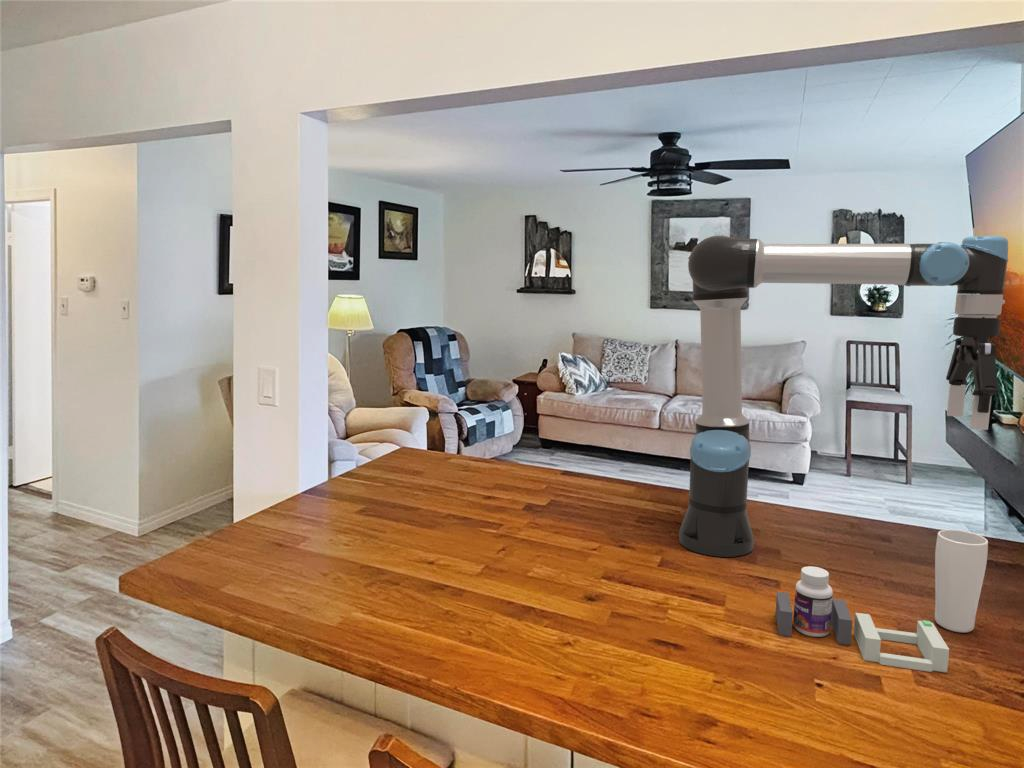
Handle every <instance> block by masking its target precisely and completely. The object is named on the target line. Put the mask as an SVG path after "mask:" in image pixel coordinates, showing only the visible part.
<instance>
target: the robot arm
mask: <svg viewBox="0 0 1024 768" xmlns="http://www.w3.org/2000/svg"><path fill="white" fill-rule="evenodd" d="M1008 257H1009V241H1008V239H1007V237H1004V236H1003V235H980V236H978V235H977V236H975V235H974V236H967V237H964V238H963V239H962V242H961V244H960V245H959V244H957V243H954V242H949V241H948V242H947V241H940V242H937V243H764V242H763V241H762V240H761V239H760V238H741V237H732V236H725V235H713V236H709V237H705V238H704V239H702V240H700V242H698V243H697V244H696V245H695V246H694V248H692V251H691V253H690V255H689V258H688V262H687V263H688V264H687V265H688V266H687V268H688V273H689V276H690V278H691V279H692V302H693V304H695V305H696V306H697V307H698V308H699V311H700V315H699V317H700V353H701V355H700V358H701V360H700V361H701V366H700V367H701V400H702V402H701V405H702V406H701V409H702V411H701V415H700V416H699V417H698V418H697V419H696V420H695V435H694V436H693V438H692V440H691V443H690V447H689V448H690V449H689V454H690V465H689V466H690V468H689V492H688V493H689V494H688V496H689V497H688V506H687V510H686V512H685V515H684V517H683V520H682V522H681V525H680V527H679V534H678V537H679V538H678V541H679V543H680V545H681V546H683V547H684V548H686V549H688V550H690V551H691V552H695V553H698V554H701V555H706V556H710V557H711V556H712V557H720V558H729V557H730V558H732V557H741V556H745V555H748V554H749V553H751V552H753V550H754V543H755V542H754V540H755V539H754V538H755V537H754V534H753V530H752V527H751V523H750V520H749V517H748V514H747V503H748V502H747V500H748V485H749V467H750V459H751V454H752V453H751V452H752V449H751V444H750V420H749V418H747V417H746V416H745V415H744V414H743V402H742V401H743V397H742V393H743V391H742V382H743V381H742V329H741V328H742V324H741V321H742V320H741V318H742V316H741V307H742V305H743V304H745V303H746V301H747V300H748V291H749V289H755V288H757V287H758V286H759V285H761V284H817V285H818V284H820V285H821V284H823V285H824V284H825V285H826V284H827V285H828V284H829V285H834V284H838V285H839V284H840V285H893V286H904V287H912V286H915V287H919V286H920V287H921V286H922V287H923V286H924V287H928V286H929V287H931V286H932V287H933V286H936V287H946V286H951V287H953V286H956V287H957V289H956V290H957V291H956V295H955V296H956V297H955V304H954V305H955V306H954V314H955V315H957V316H956V317H955V318H954V321H953V329H952V330H953V331H952V334H953V335H954V336H956V337H962V338H955V340H954V341H955V342H954V349H953V352H952V353H953V354H952V356H951V360H950V363H949V367H948V370H947V373H946V374H947V375H946V377H945V378H946V380H947V381H948V384H949V390H948V400H947V407H946V408H947V409H946V416H947V417H960V418H962V417H963V416H964V407H965V398H966V388H967V387H966V386H968V379H967V378H968V376H969V373H970V371H971V372H972V376H973V383H974V387H975V390H973V392H972V393H971V395H972V396H973V399H972V408H971V419H970V427H969V429H972V430H983V431H984V430H985V431H986V430H987V431H988V430H989V424H990V414H991V407H992V397H993V396H994V395H998V394H999V387H998V385H999V383H998V377H997V376H998V375H997V362H996V345H997V344H996V343H991V342H989V338H997V337H999V335H1000V331H1001V330H1000V329H1001V321H1002V320H1001V319H1000V318H999V317H998V316H1000V315H1001V314H1002V310H1003V309H1002V307H1003V305H1004V304H1006V300H1005V299H1004V289H1005V282H1006V274H1007V268H1008V267H1007V266H1008V263H1009V258H1008Z"/></svg>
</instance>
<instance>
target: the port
mask: <svg viewBox="0 0 1024 768" xmlns="http://www.w3.org/2000/svg"><path fill="white" fill-rule="evenodd" d="M916 623H917V624H916V632H909V631H902V630H894V629H888V628H887V629H886V628H880V627H876V626H875V623H874V622H873V619H872V616H871V614H869V613H861V612H855V614H854V627H853V635H854V638H855V640H856V643H857V647H858V649H859V651H860V654H861V657H862V660H863V661H867V662H874V663H879V665H882V666H888V667H889V666H890V667H896V668H902V669H908V670H915V671H922V672H929V673H932V672H933V671H934V672H939V673H948V668H949V659H950V658H949V657H950V648H949V647H948V645H947V643H946V641H944V638H943V637H942V635H941V634H940V632H939V631H938V628H937V627H936V626H935V624H934V622H931V620H925V619H922V620H917V622H916ZM882 640H884V641H890V642H897V643H898V642H899V643H905V644H913V645H917V647H918V649H919V650H920V653H921V654H922V656H923V658H920V657H914V656H906V655H898V654H893V653H885V652H881V646H882V645H881V644H882Z"/></svg>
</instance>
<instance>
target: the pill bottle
mask: <svg viewBox="0 0 1024 768" xmlns="http://www.w3.org/2000/svg"><path fill="white" fill-rule="evenodd" d="M829 581H830V573H829V572H828V571H827V570H826V569H824V568H822V567H818V566H811V565H809V566H804V567H801V570H800V579H799V580H798V581H797V582H796V584H795V589H794V606H793V607H794V608H793V617H792V626H793V627H794V629H795V630H796V631H798V632H799V633H801V634H803V635H806V636H809V637H813V638H815V637H816V638H821V637H822V638H823V637H825V636H828V635H829V634H830V633H831V627H832V624H831V612H832V599H834V598H833V595H834V594H833V593H834V591H833V588H832V587H831V585H829Z"/></svg>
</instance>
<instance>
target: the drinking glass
mask: <svg viewBox="0 0 1024 768" xmlns="http://www.w3.org/2000/svg"><path fill="white" fill-rule="evenodd" d="M988 550H989V540H988V539H987V538H986V537H984V536H982V535H980V534H977V533H975V532H972V531H971V532H970V531H965V530H961V529H942V530H939V531H937V537H936V543H935V553H934V555H935V556H934V574H935V575H934V578H935V579H934V581H935V582H934V583H935V587H934V589H935V592H934V593H935V594H934V596H935V598H934V601H935V604H934V605H935V610H934V621H935V623H936V624H938V626H940V627H942V628H944V629H946V630H948V631H950V632H955V633H963V634H964V633H970V632H971V631H973V630H974V629H975V622H976V616H977V613H978V612H977V611H978V607H979V600H980V596H981V592H982V588H983V583H984V578H985V573H986V570H987V569H986V568H987V562H988Z"/></svg>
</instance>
